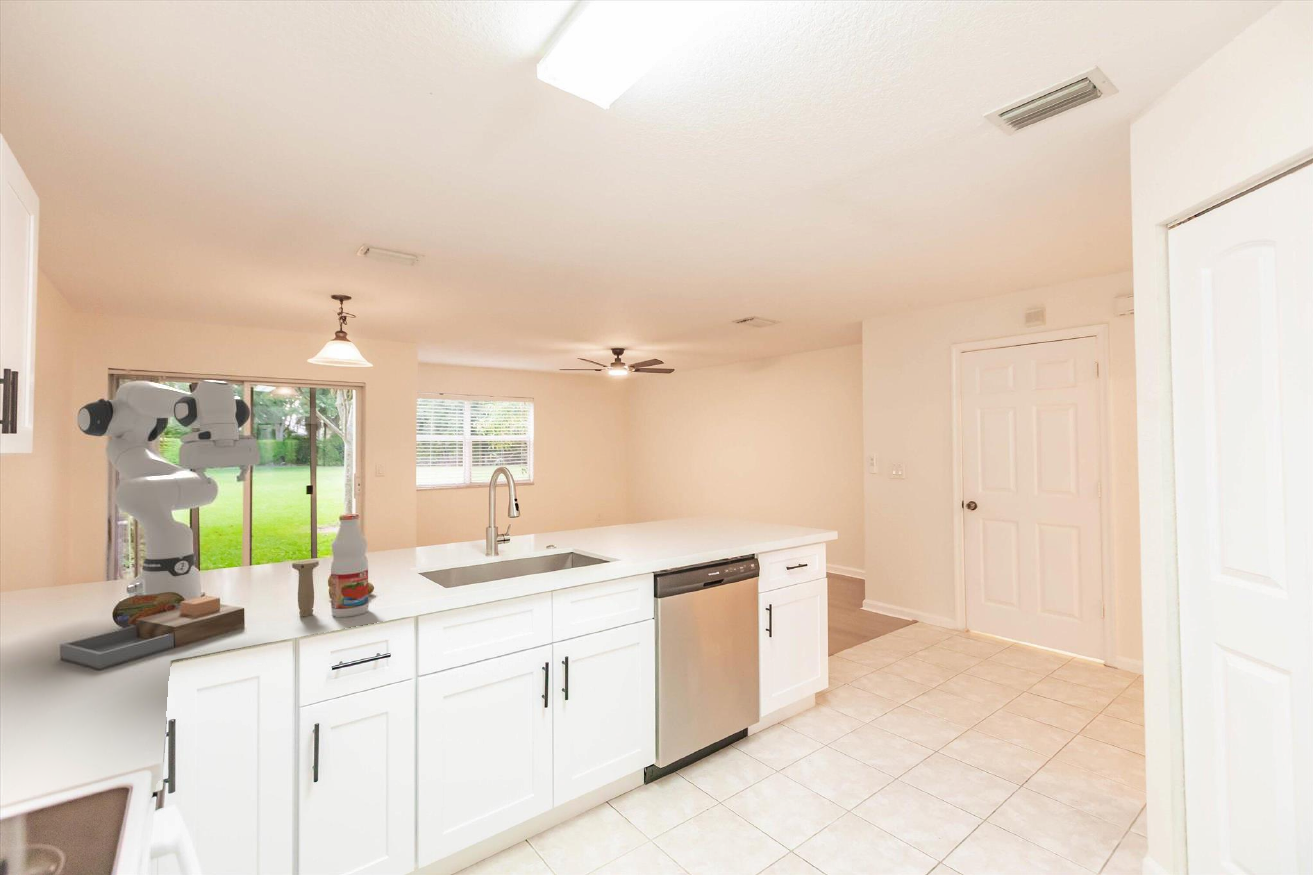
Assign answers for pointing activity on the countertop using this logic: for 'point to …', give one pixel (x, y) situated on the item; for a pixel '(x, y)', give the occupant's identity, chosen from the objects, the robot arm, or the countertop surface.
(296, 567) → the handle
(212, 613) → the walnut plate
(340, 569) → the fruit juice
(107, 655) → the box
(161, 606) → the tin
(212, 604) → the terracotta block
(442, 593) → the countertop surface
